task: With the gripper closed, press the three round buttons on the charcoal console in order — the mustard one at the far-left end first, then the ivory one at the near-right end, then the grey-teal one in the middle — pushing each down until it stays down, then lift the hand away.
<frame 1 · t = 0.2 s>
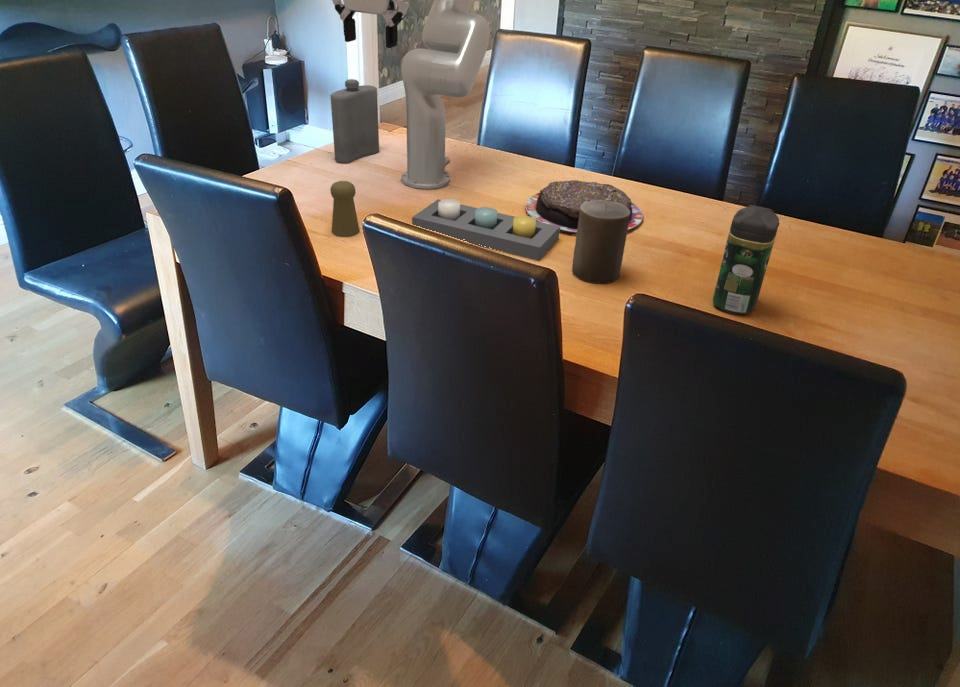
hand: (370, 43, 144), 37 cm above the table, tool pointing down, fingers open, 9 cm apart
console: (485, 234, 157), on the table
flask: (356, 156, 196), on the table
coffee jar: (733, 304, 135), on the table
teal button: (485, 218, 155), point 4 cm above the table, slide at 0.0 cm
cork: (345, 232, 155), on the table
mustard button: (524, 227, 151), point 4 cm above the table, slide at 0.0 cm
pillar candle: (595, 273, 144), on the table
chocolate cake: (582, 215, 169), on the table
ivory button: (449, 210, 158), point 4 cm above the table, slide at 0.0 cm
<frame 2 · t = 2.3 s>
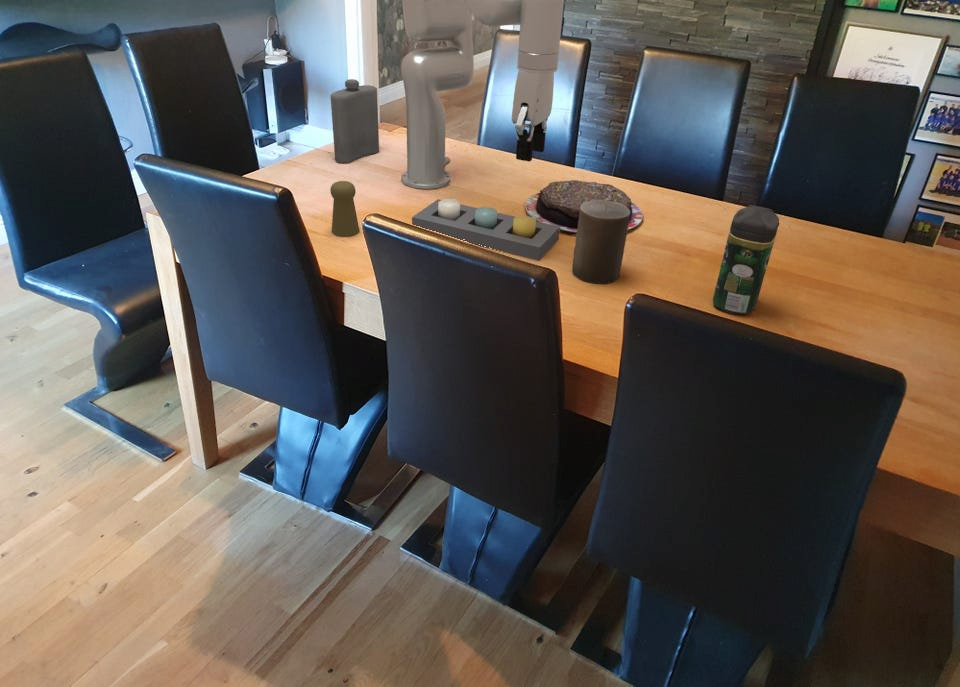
hand: (530, 154, 143), 20 cm above the table, tool pointing down, fingers open, 5 cm apart
nothing on the table moved.
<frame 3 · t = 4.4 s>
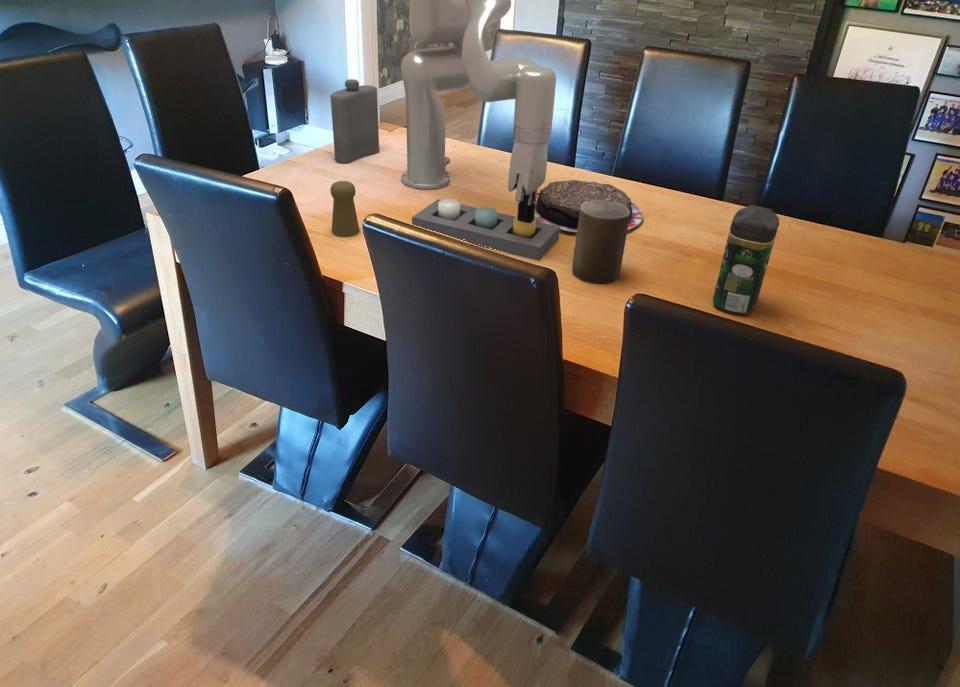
hand: (525, 220, 150), 5 cm above the table, tool pointing down, fingers closed
mustard button: (524, 227, 151), point 4 cm above the table, slide at 0.0 cm, touching gripper
everything else where it was.
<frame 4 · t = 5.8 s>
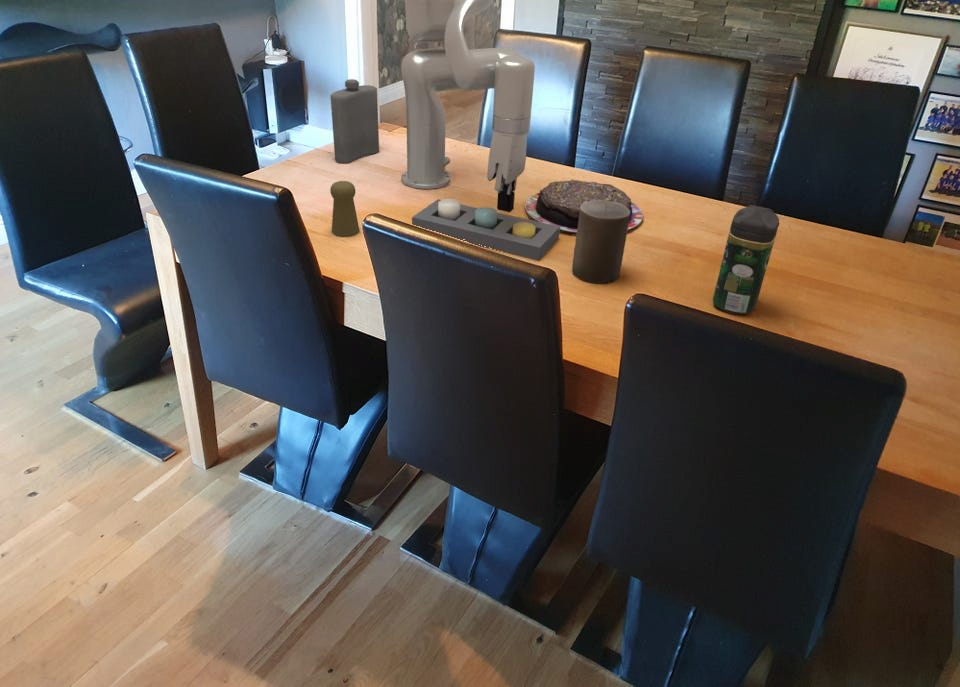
hand: (505, 209, 152), 7 cm above the table, tool pointing down, fingers closed
mustard button: (523, 234, 152), point 2 cm above the table, slide at -1.5 cm
everything else where it was.
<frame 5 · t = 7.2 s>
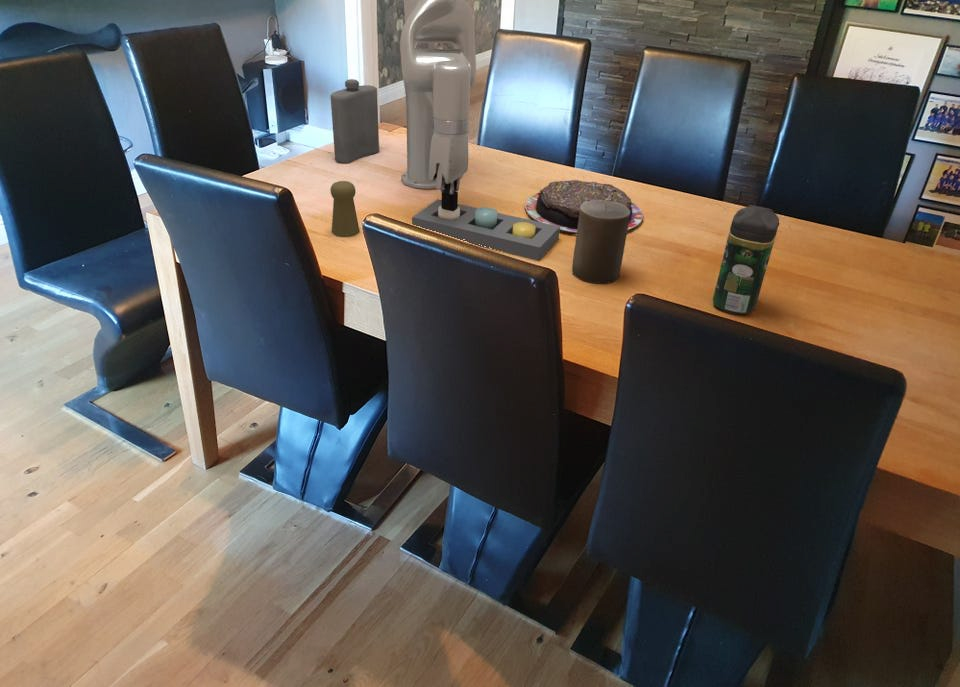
hand: (449, 208, 157), 4 cm above the table, tool pointing down, fingers closed
ivory button: (449, 215, 158), point 2 cm above the table, slide at -1.3 cm, touching gripper
everything else where it was.
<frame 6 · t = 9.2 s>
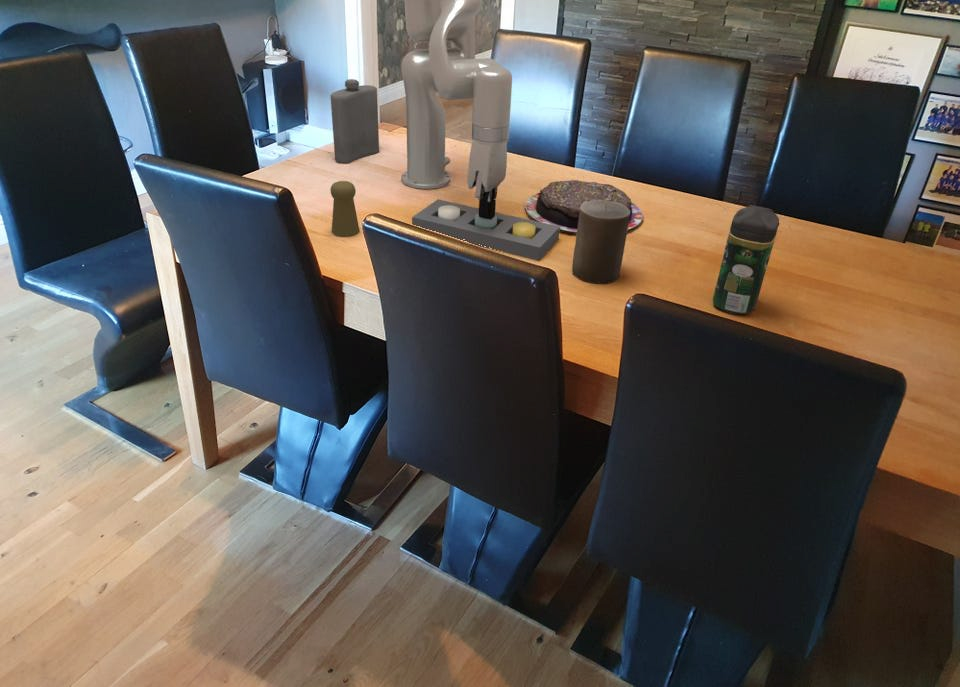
hand: (486, 217, 154), 4 cm above the table, tool pointing down, fingers closed
teal button: (485, 224, 155), point 2 cm above the table, slide at -1.2 cm, touching gripper
ivory button: (449, 216, 158), point 2 cm above the table, slide at -1.5 cm
everything else where it was.
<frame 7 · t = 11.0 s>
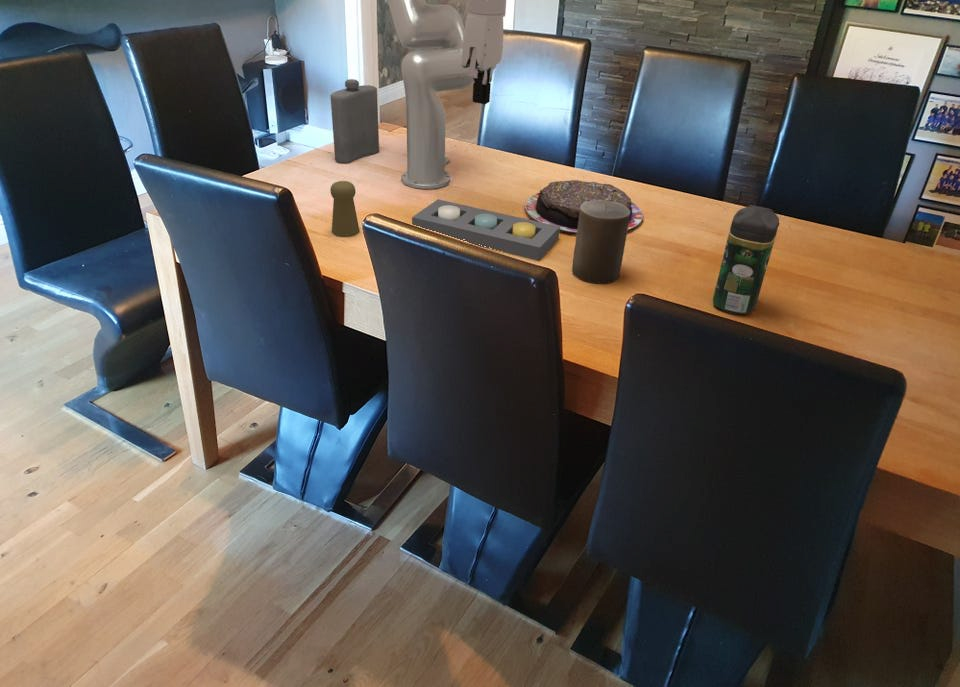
hand: (480, 102, 148), 27 cm above the table, tool pointing down, fingers closed
teal button: (485, 225, 155), point 2 cm above the table, slide at -1.5 cm
everything else where it was.
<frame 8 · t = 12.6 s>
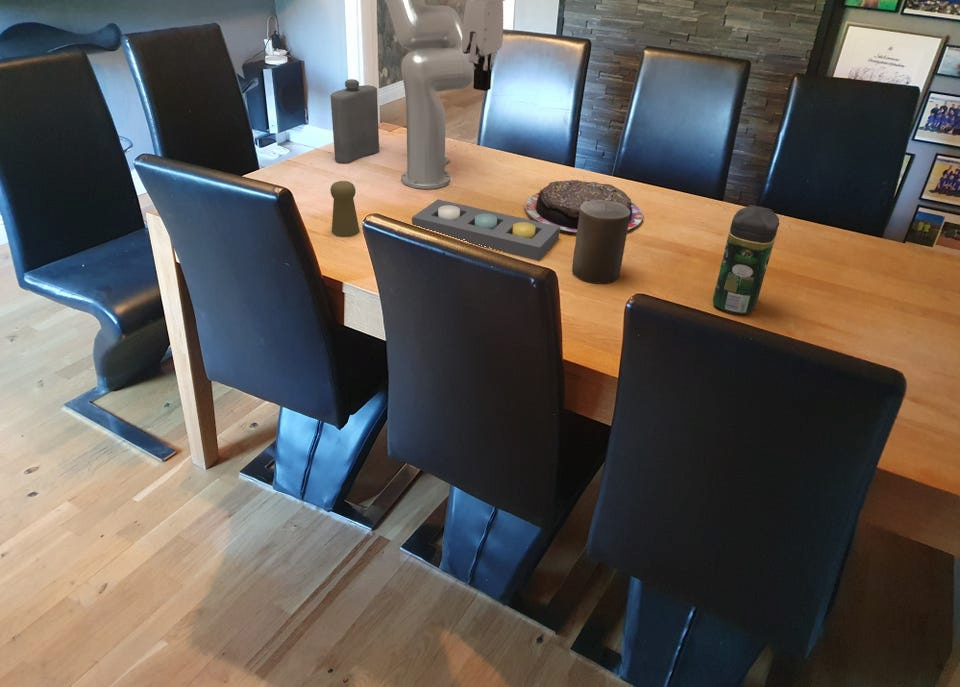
hand: (481, 89, 147), 29 cm above the table, tool pointing down, fingers closed
nothing on the table moved.
at the end: mustard button slide at -1.5 cm; ivory button slide at -1.5 cm; teal button slide at -1.5 cm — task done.
